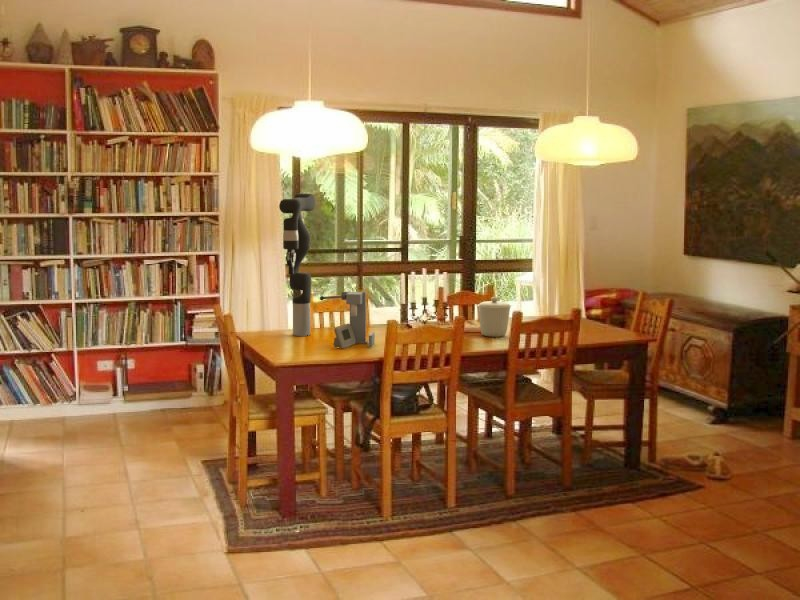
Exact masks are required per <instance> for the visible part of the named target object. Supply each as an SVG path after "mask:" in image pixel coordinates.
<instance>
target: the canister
mask: <svg viewBox="0 0 800 600" xmlns="http://www.w3.org/2000/svg"><path fill="white" fill-rule="evenodd" d="M498 300H499V299H498V297H497V296H492V297H491V298H490V300H489V301H487V300H486V301H482V302H479V304H477V307H478V317H479V318H478V319H479V327H480V333H481V334H482V335H483V336H484V337H490V338H497V337H498V338H499V337H500V338H501V337H504V336H505V335H506V334H507V332H508V325H509V318H510V311H511V308H512V305H511V304H510V303H508V302H505V301H498Z"/></svg>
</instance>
